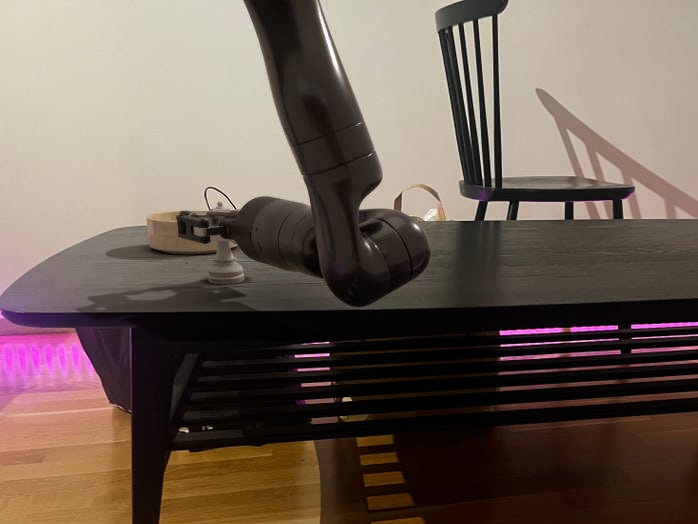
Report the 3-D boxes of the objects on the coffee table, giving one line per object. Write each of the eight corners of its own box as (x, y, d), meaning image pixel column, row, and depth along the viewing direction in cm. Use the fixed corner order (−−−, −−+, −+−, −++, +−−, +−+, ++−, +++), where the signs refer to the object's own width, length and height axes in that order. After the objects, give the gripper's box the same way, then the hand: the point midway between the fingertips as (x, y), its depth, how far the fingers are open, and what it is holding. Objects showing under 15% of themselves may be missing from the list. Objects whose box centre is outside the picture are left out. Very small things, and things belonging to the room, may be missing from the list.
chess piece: (248, 277, 92) (242, 199, 89) (239, 284, 88) (232, 203, 85) (214, 276, 92) (207, 198, 88) (203, 284, 88) (195, 202, 84)
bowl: (171, 259, 101) (168, 224, 100) (136, 246, 110) (132, 213, 108) (255, 249, 110) (253, 217, 109) (216, 238, 119) (213, 208, 117)
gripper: (338, 196, 81) (266, 184, 91) (220, 203, 71) (155, 188, 82) (339, 260, 83) (269, 241, 94) (226, 276, 74) (162, 252, 84)
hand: (216, 217), depth 88 cm, fingers open, 8 cm apart
